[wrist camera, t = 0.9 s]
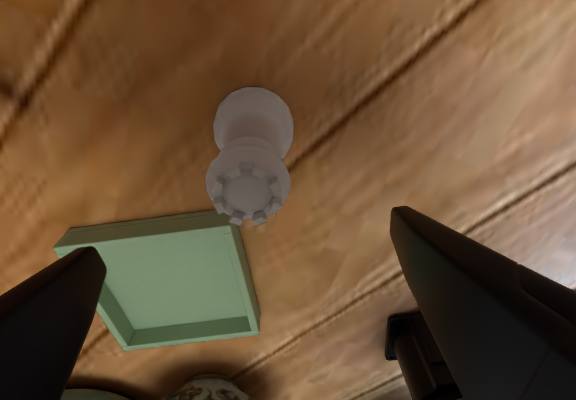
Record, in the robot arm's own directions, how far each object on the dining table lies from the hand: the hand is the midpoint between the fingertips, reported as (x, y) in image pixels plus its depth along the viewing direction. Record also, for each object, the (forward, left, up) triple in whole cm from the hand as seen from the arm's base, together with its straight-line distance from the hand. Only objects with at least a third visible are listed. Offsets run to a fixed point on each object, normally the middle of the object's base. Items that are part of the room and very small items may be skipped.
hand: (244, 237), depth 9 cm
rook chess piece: (0, 0, -10) cm, 10 cm away
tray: (-11, +8, -10) cm, 17 cm away
